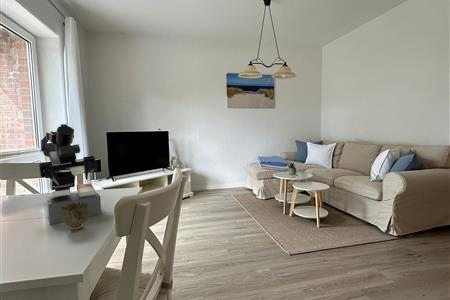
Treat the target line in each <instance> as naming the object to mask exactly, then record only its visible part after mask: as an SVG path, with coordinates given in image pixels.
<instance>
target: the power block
mask: <svg viewBox="0 0 450 300" xmlns="http://www.w3.org/2000/svg"><path fill="white" fill-rule="evenodd" d="M79 202H80V205H81V203H82V202H83V203H85V202H86V204H87V203H88V216H87V218H88V217H92V216H97V215H101V214H102V203H101V195H100V194H99V193H98V192H97V191H96V190H95V194H93V195H87V196H81V197H80V195H79V193H78V191H77V192H70V194H69V195H67V196H60V197H52V195H51V196H46V208H47V218H48V222H49V225H54V224H59V223H65V222H64V219H63V215H62V210H61V207H62V206H64V208H65V207H67V204H70V205H71V204H72V203H76V204H78V203H79Z"/></svg>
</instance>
